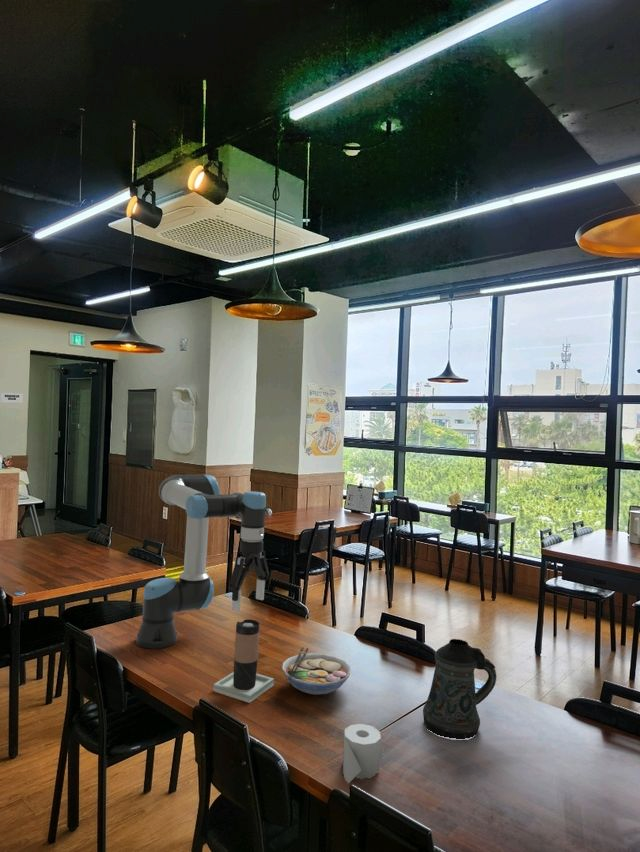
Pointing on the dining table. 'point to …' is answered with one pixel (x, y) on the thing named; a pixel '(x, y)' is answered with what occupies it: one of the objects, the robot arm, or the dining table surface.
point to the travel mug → (246, 654)
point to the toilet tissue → (361, 751)
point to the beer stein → (457, 690)
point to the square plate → (228, 689)
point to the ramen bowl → (316, 672)
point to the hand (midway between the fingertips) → (248, 604)
